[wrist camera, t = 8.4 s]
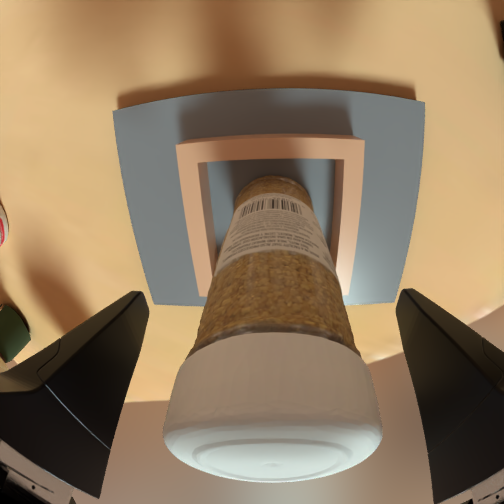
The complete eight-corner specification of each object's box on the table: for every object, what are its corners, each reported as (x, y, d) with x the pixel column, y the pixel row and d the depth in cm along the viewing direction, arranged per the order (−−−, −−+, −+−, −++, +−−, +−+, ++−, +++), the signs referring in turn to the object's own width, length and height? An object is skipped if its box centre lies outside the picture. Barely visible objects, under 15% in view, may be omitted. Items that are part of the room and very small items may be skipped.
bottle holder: (417, 101, 13) (442, 103, 10) (390, 294, 20) (402, 320, 17) (120, 110, 14) (94, 113, 12) (158, 296, 21) (145, 321, 18)
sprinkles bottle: (228, 237, 17) (164, 471, 5) (242, 164, 15) (144, 396, 3) (302, 253, 17) (328, 487, 6) (323, 183, 15) (434, 419, 3)
